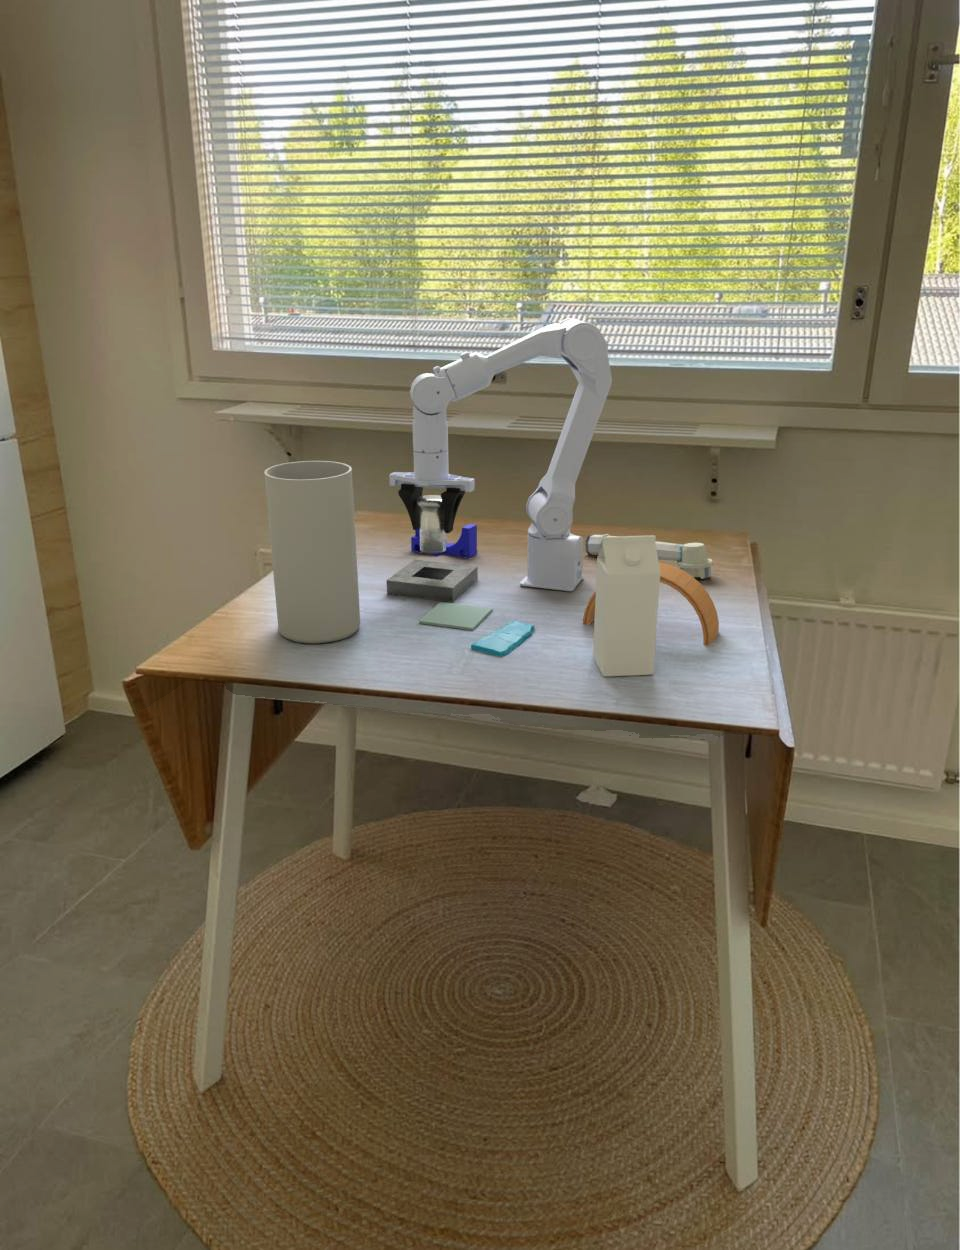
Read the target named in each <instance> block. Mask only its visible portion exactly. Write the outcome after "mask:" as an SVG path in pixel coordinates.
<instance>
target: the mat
mask: <svg viewBox="0 0 960 1250" xmlns="http://www.w3.org/2000/svg"><path fill="white" fill-rule="evenodd" d="M492 612H493V608H492V607H486V606H485V607H483V606H477V605H476V606H475V605H468V604H460V603H454V602H446V601H440V602H439V603H438V604H436V606H435V607H434V608H432V609H431V610H430V611H429V612H428V613H427V614H425V616H423V617H422V618H421V619H420V620H419V624H423V625H430V626H437V627H442V628H443V627H446V628H450V629H451V628H452V629H459V630H467V631H474V630H475V629H476V628H477V627H478V626H479V625H480V624H481V623H482V622H483V621H484V620H485V619H486V618H487V617H488V616H489V615H490V614H491V613H492Z"/></svg>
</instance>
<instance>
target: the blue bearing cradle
mask: <svg viewBox="0 0 960 1250" xmlns="http://www.w3.org/2000/svg"><path fill="white" fill-rule="evenodd" d="M414 533H415V534H414V535H413V536H411V537H410V540H411V541H410V542H411V543H410V545H411V546H410V547H411V552H413V551H418V552H417V553H419V552H422V551H420V528H419V529H418V530H414ZM421 554H425V553H424V552H422V553H421ZM431 554H432V556H437V557H439V556H441V555H443V554H444V555H447V554H448V556H454V557H459V556H460V557H459V558H465V557H466V558H465V559H470V558H472V557H474V556H476V555H478V525H477V524H473V523H469V524H466V525H464V526H462V527H461V533H460V537H459V538H458V540H457V542H454V543H452V542H449V541H448V542H447V541H446V551H444V552H441V553H427V555H431Z"/></svg>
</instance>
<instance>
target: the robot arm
mask: <svg viewBox="0 0 960 1250" xmlns="http://www.w3.org/2000/svg"><path fill="white" fill-rule="evenodd" d="M608 350H609V344H608V342H607V340H606V339H605V337H604V335H603V334H602V332H601V330H600V329H599V327H597V326H596V325H595V324H593V323H591V322H585V321H582V320H581V319H578V318H576V317H575V318H574V317H570V318H565V319H563V320H561V321H560V322H558V323H557V322H555V323H551V324H547V325H546V326H543V327H541V328H538V329H536V330H534V331H533V332H530V333H529V334H527V335H524V336H522V337H521V338H519V339H517V340H515V341H512V342H511V343H509V344H507V345H505V346H503V347H501V348H499V349H497V350H495V351H493V352H491V353H489V354H487V355H483V354H482V353H479V352H477V351H475V352H471V353H469V352H468V351H465V352H462V353H460V354H459V355H460V356H459V357H460V358H459V359H457V360H455V361H452V362H451V363H448V364H446V365H444V366H442V367H440V366H439V365H437V366H434V367H433V368H432V369H433V372H434V373H429V372H426V373H422V374H419V375H418V376H416V377H415V378H414V380H413V381H412V383H411V384H410V390H409V393H408V394H409V397H410V400H411V401H412V403H413V404H414V405H413V407H412V408H413V409H412V417H413V420H412V449H413V452H412V453H413V472H408V471H407V472H405V471H403V472H400V471H394V472H391V473H390V474H389V486H390V487H391V486H392V487H396V486H400V489H399V490H398V492H397V493H398V496H399V498H400V499H401V500H402V503H403V504H404V507H405V508H406V511H407V514H408V516H409V520H410V522H411V527H412V530H414V531H415V530H418V529H419V528H420V523H419V506H417V505H416V498H418V497H420V496H423V490H424V488H427V489H438V490H439V489H440V490H445V491H443V492H442V493H440V496H441V499H442V504H443V510H444V532H445V533H446V534H450V533H451V532H453V530H454V524H455V519H456V515H457V514H458V513H457V512H458V510H459V508H460V504H461V502H462V500H463V499H464V495H465V494H466V493H472V492H473V491H475V490H476V489H475V488H476V487H475V486H476V485H475V480H476V479H475V478H473V477H467V476H465V477H464V476H461V475H456V474H450V472H449V470H450V469H449V430H448V429H449V426H448V425H449V423H448V420H447V407H448V406H449V404H450V402H457V401H459V400H462V399H464V398H467V397H468V396H470V395H473V394H474V393H476V392H479V391H481V390H484V389H485V388H487V387H490V385H491V384H492V383H491V382H492V380H493V379H494V377H495V375H497V374H499V373H501V372H505V371H506V370H509V369H511V368H514V367H517V366H519V365H521V364H523V363H526V362H529V361H531V360H533V359H535V358H538V357H545V358H547V357H548V358H555V359H563V360H564V361H565V362H566V363H567V365H569V367H570V369H571V371H572V373H573V375H574V377H575V379H576V381H577V382H578V384H577V387H576V389H575V393H574V394H573V395H574V396H573V398H572V402H571V404H570V407H569V409H568V412H567V415H566V418H565V421H564V424H563V426H562V430H561V432H560V435H559V438H558V441H557V443H556V446H555V449H554V452H553V455H552V458H551V461H550V463H549V466H548V470H547V472H546V474H545V475H544V476H542V478H541V479H540V481H539V483H538V486H537V487H536V490H534V492H533V493H532V494H531V495H530V496H529V497H528V499H527V500H526V501H527V502H526V513H527V516H528V518H530V520H531V523H530V525H529V527H528V528H527V563H526V564H527V569H526V572H527V575H526V576H525V577H524V578H523V579H521V581H520V582H519V586H521V587H529V588H538V589H548V590H557V591H563V592H572V591H574V590H575V589H576V587H577V586H578V585H579V584H580V582H581V581H582V580H583V579H584V575H583V571H584V570H583V568H584V567H583V565H584V539H583V536H581V535H575V534H573V533H571V530H570V529H571V527H572V525H573V521H574V515H573V507H574V504H575V501H576V482H577V479H578V478H579V474H580V472H581V469H582V467H583V464H584V461H585V458H586V455H587V453H588V449H589V446H590V444H591V441H592V438H593V436H594V434H595V430H596V428H597V425H598V423H599V419H600V416H601V414H602V411H603V409H604V406H605V404H606V401H607V398H608V395H609V392H610V389H611V388H612V387H611V386H612V383H613V378H612V372H611V366H610V365H611V364H610V360H609V356H608V355H609V354H608Z"/></svg>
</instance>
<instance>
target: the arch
mask: <svg viewBox="0 0 960 1250" xmlns="http://www.w3.org/2000/svg"><path fill="white" fill-rule="evenodd" d="M659 567H660V583H662V584H665V585H667V586H668V587H670V588H672V589H674V590H675V591H677V593H680V595H682V596H683V597H684V598H685V599H686V600H687V601H688V603H689V604H690V605H691V606H692V608H693V610H694V611H695V613H696V615H697V617H698V619H699V622H700V625H701V630H702V634H703V635H702V636H703V639H702V640H703V642H702V643H703V645H705V646H706V645H707V646H710V645H711V644H712V643H713V641H714V639H715V638H716V637H717V635H718V634H719V630H720V629H719V626H720V625H719V624H720V623H719V616H718V613H717V612H718V611H717V609H716V606H715V603H714V601H713V600H712V598H711V596H710V594H709V592H708V591H707V590H706V589H705V588H704V586H703V585H702V584H701V583H700V582H699V581H698V580H697V579H696V577H693V576H691V575H690V574H688V573H686V572H685V571H683V570H681V569H680V567H678V566H674V565H671V564H669V563H664V562H659ZM595 598H596V590H595V591H594V593H593V594H592V595H591V597H590V599H588V602H587V605H586V607H585V609H584V613H583V617H582V625H585V624H586V625H590V624H592V623H593V622H595Z"/></svg>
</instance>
